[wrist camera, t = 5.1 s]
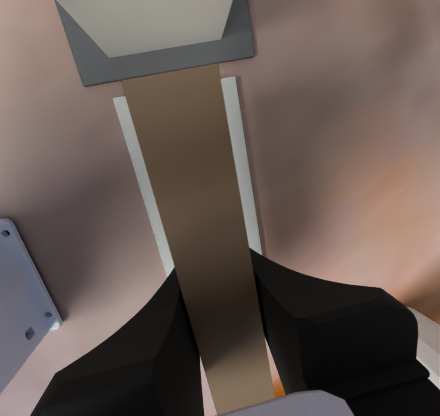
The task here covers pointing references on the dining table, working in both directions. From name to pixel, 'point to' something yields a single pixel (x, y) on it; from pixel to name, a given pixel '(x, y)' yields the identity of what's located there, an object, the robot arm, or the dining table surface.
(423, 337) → the shot glass
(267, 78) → the dining table surface
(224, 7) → the tile
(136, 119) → the bar
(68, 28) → the mat
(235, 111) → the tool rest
